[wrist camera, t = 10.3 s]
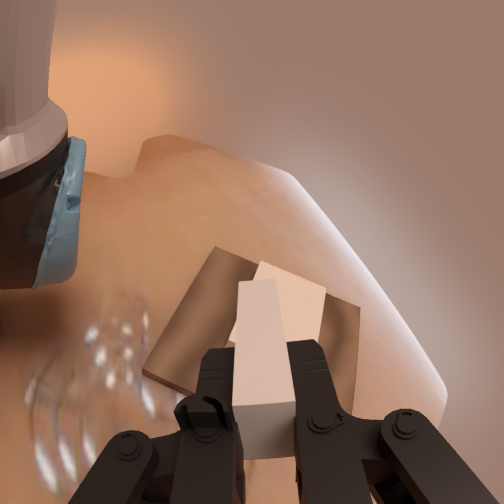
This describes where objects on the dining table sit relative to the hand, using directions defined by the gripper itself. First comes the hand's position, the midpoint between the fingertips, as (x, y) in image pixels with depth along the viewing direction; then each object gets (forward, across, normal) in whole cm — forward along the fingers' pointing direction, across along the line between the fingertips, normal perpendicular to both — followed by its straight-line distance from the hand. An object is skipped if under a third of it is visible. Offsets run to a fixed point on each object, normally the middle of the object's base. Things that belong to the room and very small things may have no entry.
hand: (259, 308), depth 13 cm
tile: (+15, 0, -16) cm, 22 cm away
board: (+20, 0, -18) cm, 27 cm away
